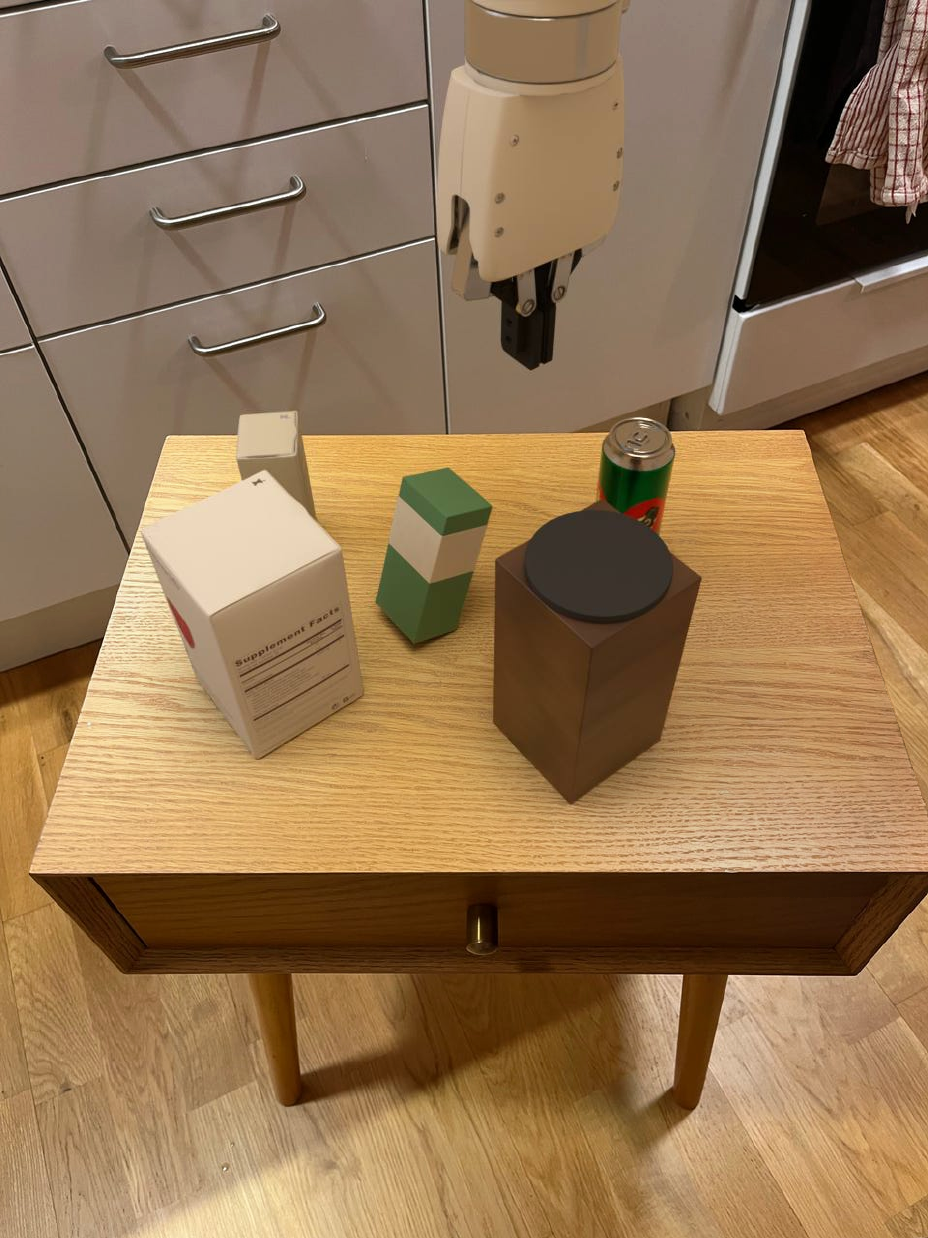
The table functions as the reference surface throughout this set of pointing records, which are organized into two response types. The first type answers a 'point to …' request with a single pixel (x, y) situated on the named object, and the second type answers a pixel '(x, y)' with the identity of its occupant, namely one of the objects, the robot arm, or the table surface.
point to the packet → (432, 553)
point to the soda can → (637, 469)
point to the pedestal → (584, 676)
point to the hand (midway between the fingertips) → (526, 355)
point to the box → (275, 453)
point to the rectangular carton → (259, 609)
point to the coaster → (598, 566)
